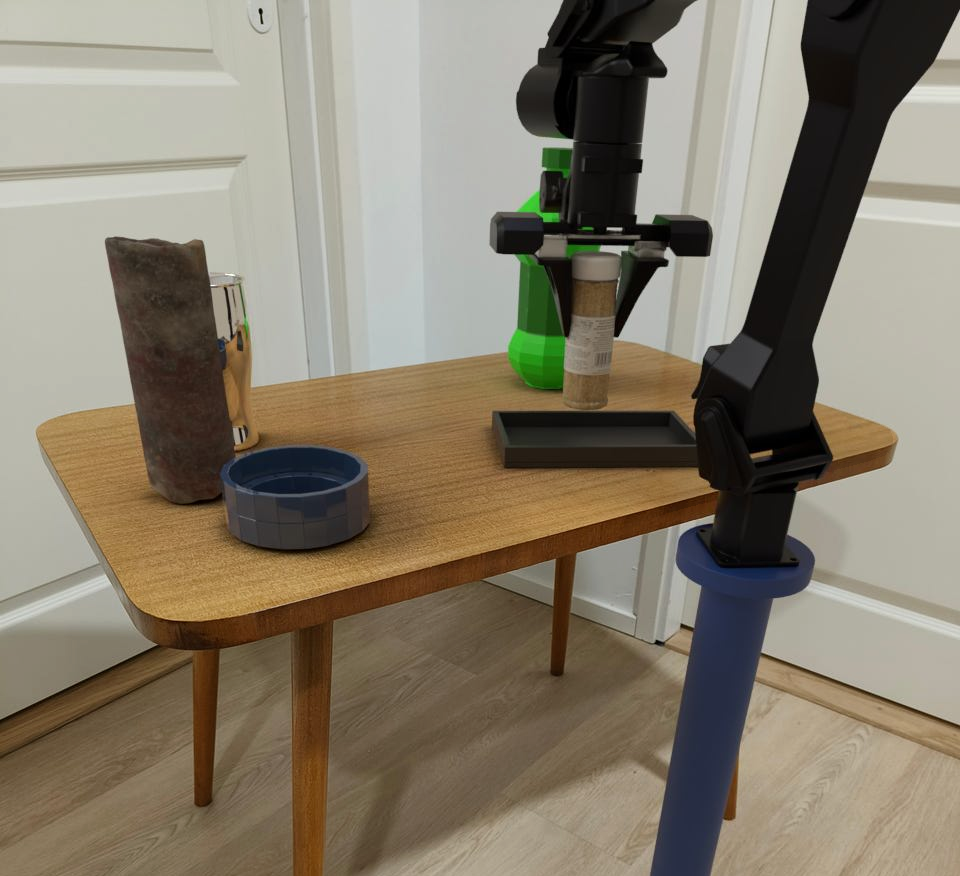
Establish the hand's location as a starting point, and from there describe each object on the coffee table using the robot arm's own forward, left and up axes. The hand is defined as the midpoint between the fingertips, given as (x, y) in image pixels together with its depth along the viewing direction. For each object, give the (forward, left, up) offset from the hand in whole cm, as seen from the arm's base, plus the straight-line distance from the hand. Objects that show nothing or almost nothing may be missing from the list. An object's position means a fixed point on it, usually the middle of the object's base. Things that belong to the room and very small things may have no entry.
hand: (590, 336), depth 82 cm
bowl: (-16, +26, -11) cm, 33 cm away
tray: (+1, -1, -11) cm, 11 cm away
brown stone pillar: (-9, +36, -11) cm, 38 cm away
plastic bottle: (+24, 0, -11) cm, 26 cm away
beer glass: (+3, +35, -11) cm, 36 cm away
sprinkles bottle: (0, 0, -7) cm, 7 cm away
